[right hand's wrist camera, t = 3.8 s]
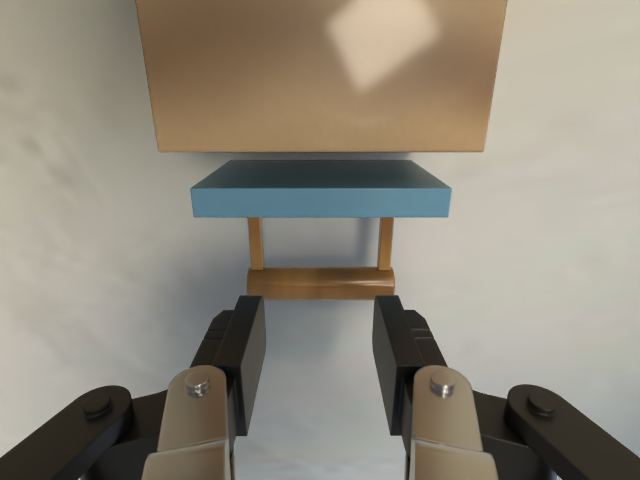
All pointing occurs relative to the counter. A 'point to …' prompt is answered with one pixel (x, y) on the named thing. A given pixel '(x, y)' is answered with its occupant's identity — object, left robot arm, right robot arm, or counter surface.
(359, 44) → the cabinet
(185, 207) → the counter surface
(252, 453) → the counter surface
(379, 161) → the drawer
